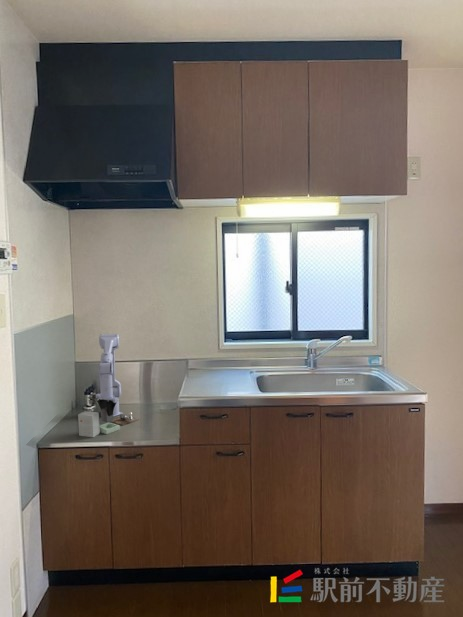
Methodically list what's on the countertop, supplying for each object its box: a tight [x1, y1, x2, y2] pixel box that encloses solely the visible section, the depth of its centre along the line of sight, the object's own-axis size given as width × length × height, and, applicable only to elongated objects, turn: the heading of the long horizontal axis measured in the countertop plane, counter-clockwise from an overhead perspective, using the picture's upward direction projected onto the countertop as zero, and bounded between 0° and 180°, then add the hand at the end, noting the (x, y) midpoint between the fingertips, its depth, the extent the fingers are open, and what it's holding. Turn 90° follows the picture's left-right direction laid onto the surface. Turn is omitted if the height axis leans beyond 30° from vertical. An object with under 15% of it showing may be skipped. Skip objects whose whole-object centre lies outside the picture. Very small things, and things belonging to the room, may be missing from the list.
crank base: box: [109, 416, 140, 426], centre depth 264 cm, size 11×11×1 cm
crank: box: [119, 411, 135, 421], centre depth 262 cm, size 9×4×4 cm, turn 52°
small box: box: [77, 410, 101, 438], centre depth 243 cm, size 8×6×10 cm
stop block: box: [100, 407, 114, 423], centre depth 248 cm, size 4×4×6 cm
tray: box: [99, 422, 121, 435], centre depth 249 cm, size 8×8×2 cm
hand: (107, 414), depth 248 cm, fingers closed on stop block, 4 cm apart
